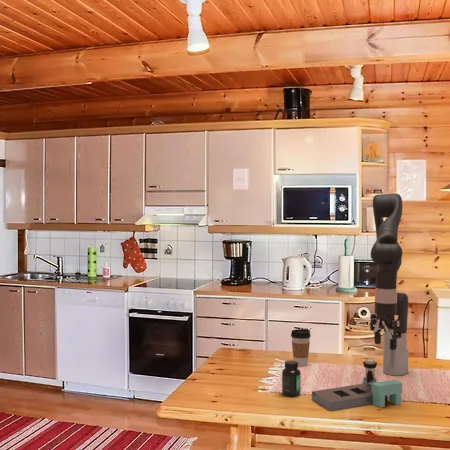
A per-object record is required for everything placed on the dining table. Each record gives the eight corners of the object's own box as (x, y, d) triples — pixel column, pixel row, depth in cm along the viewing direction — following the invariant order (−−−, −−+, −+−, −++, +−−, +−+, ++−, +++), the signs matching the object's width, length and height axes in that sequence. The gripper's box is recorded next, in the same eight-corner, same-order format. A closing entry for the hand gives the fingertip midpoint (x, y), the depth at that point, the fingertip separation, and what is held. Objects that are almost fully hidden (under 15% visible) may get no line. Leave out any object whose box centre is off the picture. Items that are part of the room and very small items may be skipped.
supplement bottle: (303, 396, 213) (303, 364, 212) (285, 398, 212) (285, 365, 211) (296, 390, 220) (297, 359, 219) (279, 391, 218) (279, 360, 218)
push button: (379, 383, 227) (379, 358, 226) (381, 388, 222) (382, 362, 221) (361, 383, 228) (362, 358, 227) (363, 387, 222) (364, 362, 222)
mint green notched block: (394, 400, 209) (394, 379, 209) (402, 403, 205) (402, 382, 205) (371, 404, 205) (371, 383, 205) (378, 408, 202) (379, 386, 201)
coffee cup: (311, 367, 248) (311, 332, 248) (291, 367, 248) (291, 332, 248) (309, 361, 257) (309, 328, 256) (289, 361, 257) (290, 327, 256)
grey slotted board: (367, 390, 219) (367, 382, 219) (387, 401, 208) (387, 393, 208) (311, 399, 210) (312, 391, 210) (330, 411, 199) (330, 402, 199)
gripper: (408, 303, 199) (407, 350, 199) (382, 296, 212) (381, 340, 213) (389, 305, 196) (389, 352, 197) (364, 298, 209) (364, 342, 210)
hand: (385, 346), depth 205 cm, fingers open, 8 cm apart
